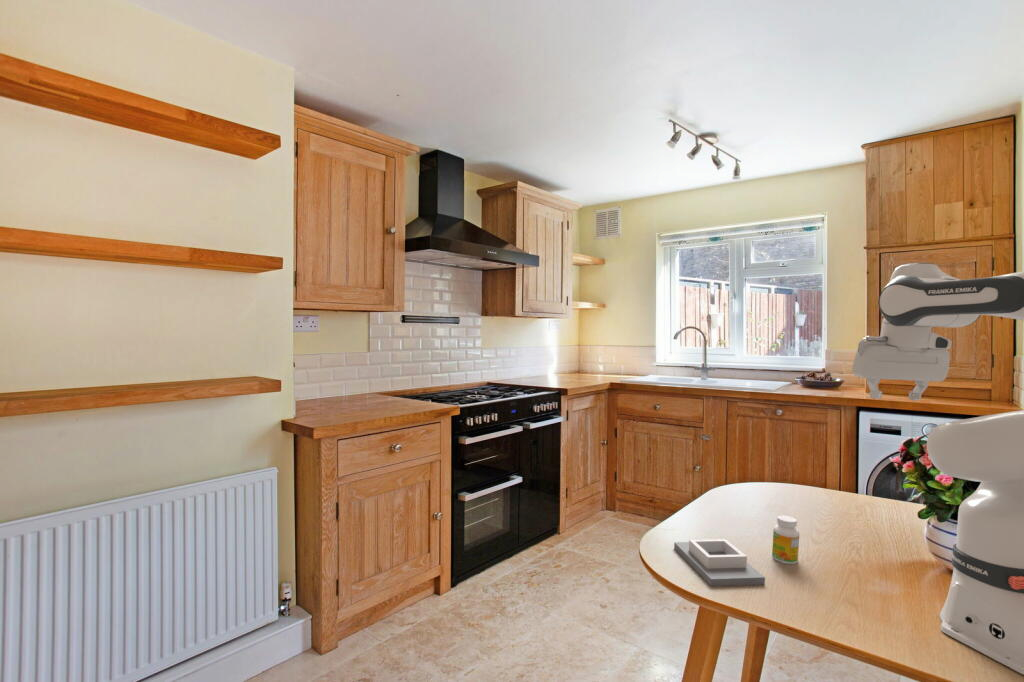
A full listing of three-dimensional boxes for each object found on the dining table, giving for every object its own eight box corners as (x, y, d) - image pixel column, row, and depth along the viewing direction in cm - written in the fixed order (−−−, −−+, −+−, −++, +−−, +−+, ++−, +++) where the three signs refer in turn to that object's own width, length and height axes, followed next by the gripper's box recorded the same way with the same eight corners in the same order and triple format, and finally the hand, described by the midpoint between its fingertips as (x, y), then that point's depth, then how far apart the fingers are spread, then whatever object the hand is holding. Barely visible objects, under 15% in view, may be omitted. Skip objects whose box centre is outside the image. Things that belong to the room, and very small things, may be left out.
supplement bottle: (766, 556, 126) (768, 515, 125) (783, 552, 128) (785, 513, 128) (786, 566, 121) (788, 524, 121) (803, 562, 123) (805, 521, 123)
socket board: (764, 584, 112) (765, 565, 112) (710, 586, 111) (711, 567, 110) (721, 547, 130) (721, 531, 130) (674, 548, 129) (674, 532, 128)
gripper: (871, 337, 113) (861, 400, 115) (959, 341, 115) (948, 404, 117) (850, 333, 119) (841, 394, 121) (933, 338, 121) (924, 397, 123)
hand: (894, 399), depth 119 cm, fingers open, 8 cm apart
